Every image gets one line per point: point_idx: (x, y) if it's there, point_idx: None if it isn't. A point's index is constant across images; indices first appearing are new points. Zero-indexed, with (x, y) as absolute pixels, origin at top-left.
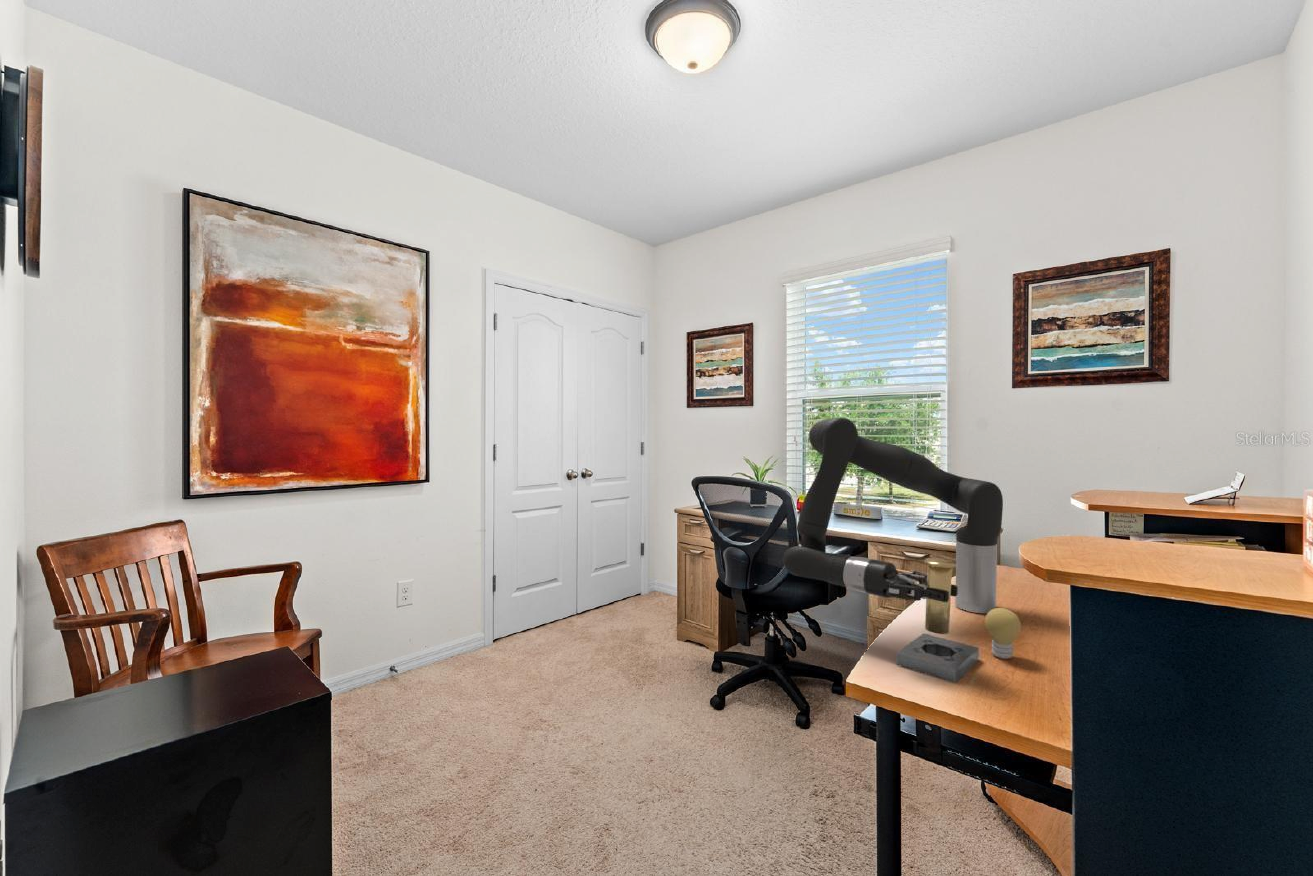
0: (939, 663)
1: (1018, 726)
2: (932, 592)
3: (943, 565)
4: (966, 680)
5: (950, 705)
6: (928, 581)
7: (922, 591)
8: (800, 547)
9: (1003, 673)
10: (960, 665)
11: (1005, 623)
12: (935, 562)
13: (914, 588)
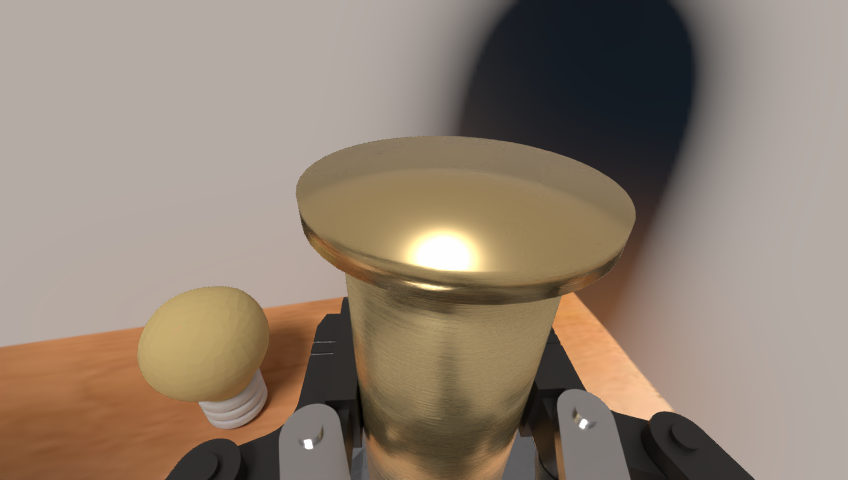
0: (529, 470)
1: (561, 303)
2: (567, 364)
3: (551, 152)
4: None
5: (626, 397)
6: (530, 383)
7: (628, 421)
8: None
9: None
10: None
11: (260, 311)
12: (534, 185)
13: (725, 458)
